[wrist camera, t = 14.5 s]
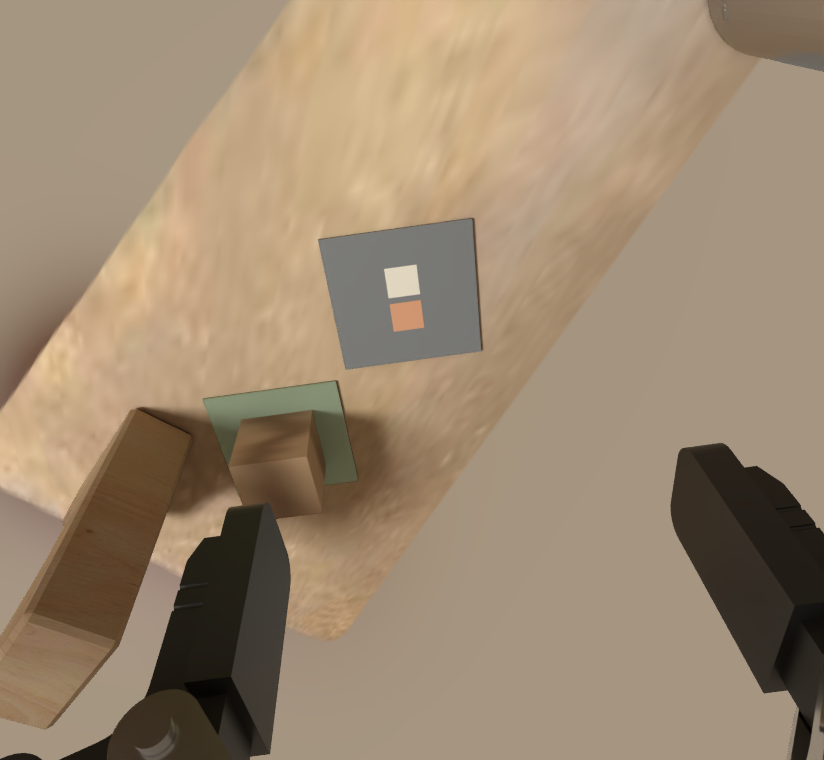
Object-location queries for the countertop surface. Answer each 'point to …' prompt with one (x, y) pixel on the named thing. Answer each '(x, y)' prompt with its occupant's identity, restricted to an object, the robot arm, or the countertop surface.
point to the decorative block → (91, 573)
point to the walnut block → (280, 463)
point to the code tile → (404, 293)
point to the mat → (287, 400)
